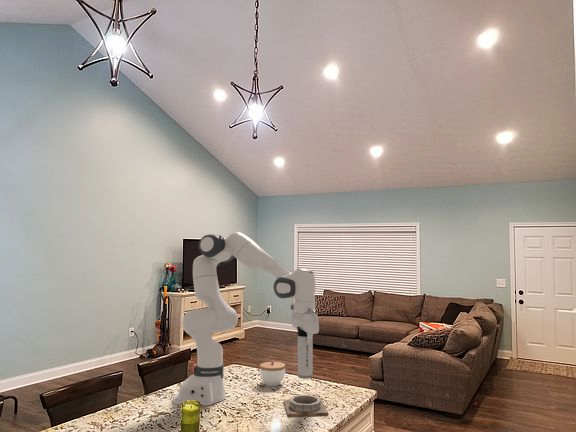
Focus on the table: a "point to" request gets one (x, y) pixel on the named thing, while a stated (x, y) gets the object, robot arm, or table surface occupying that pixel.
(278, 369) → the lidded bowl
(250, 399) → the table surface
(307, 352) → the travel mug
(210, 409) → the table surface
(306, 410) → the collar board
